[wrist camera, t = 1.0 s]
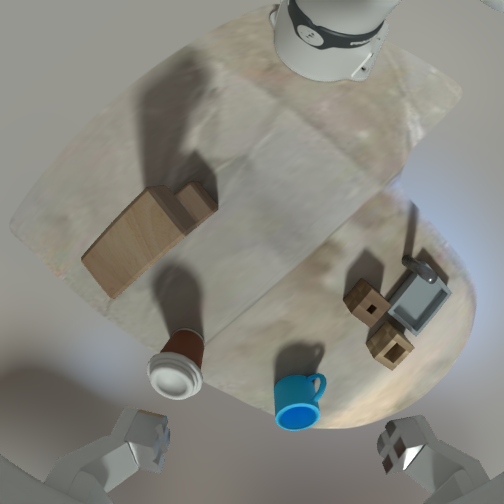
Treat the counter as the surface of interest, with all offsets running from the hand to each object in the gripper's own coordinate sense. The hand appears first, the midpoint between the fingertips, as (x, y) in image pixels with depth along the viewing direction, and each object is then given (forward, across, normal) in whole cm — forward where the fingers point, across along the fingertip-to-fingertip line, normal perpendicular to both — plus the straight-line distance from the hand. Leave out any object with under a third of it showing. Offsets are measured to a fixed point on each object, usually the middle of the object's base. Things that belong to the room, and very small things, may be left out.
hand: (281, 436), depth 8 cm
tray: (+36, -30, +9) cm, 48 cm away
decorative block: (+36, +13, -2) cm, 39 cm away
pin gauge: (+36, -25, +2) cm, 44 cm away
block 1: (+36, -18, +9) cm, 42 cm away
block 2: (+36, -26, +18) cm, 48 cm away
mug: (+37, -10, +29) cm, 48 cm away
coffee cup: (+37, +12, +21) cm, 44 cm away
